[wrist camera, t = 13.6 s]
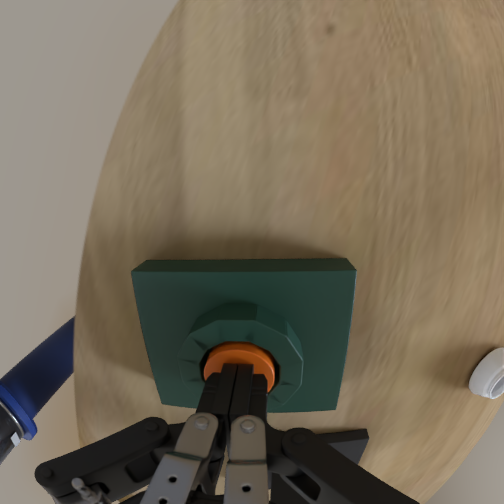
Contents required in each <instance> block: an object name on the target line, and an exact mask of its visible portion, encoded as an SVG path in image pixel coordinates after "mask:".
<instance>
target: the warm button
mask: <svg viewBox="0 0 504 504" xmlns="http://www.w3.org/2000/svg"><path fill="white" fill-rule="evenodd" d="M223 363H234V364H238V365H239V364H254V374H264V375H265V377H266V379H267V380H268V392H269V391H270V389H271V388H272V386H273V383H274V375H275V358H274V357H273V356H272V354H271V353H270V351H268V350H266V349H264V348H262V347H259V346H257V345H255V344H253V343H251V342H243V341H225V342H223V343H220V344H218V345H216V346H214V347H212V348H211V350H210V353H209V356H208V359H207V362H206V365H205V368H204V377H205V380H206V379H207V378H208V377H209V376H210V375H211V374H212V373H213V372H219V373H221V370H222V366H223Z"/></svg>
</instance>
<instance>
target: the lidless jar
mask: <svg viewBox="0 0 504 504" xmlns="http://www.w3.org/2000/svg"><path fill="white" fill-rule="evenodd" d="M469 389H470V390H471V392H472V393H473V394H477V395H480V396H483V397H489V398H491V399H494V398H497V397H498V396H500V395H501V394H502V393H503V392H504V348H502V347H501V348H497V349H495V350H493V351H492V352H490V353H489V354H487V356H486V357H485V358H484V359H483V360H482V361H481V362H480V363H479V364H478V366H477V367H476V369H475V370H474V371H473V374H472V376H471V378H470V381H469Z"/></svg>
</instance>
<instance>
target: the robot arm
mask: <svg viewBox="0 0 504 504" xmlns="http://www.w3.org/2000/svg"><path fill="white" fill-rule="evenodd" d="M267 405H268V380H267V379H266V377H265V375H264V374H254V364H239V365H238V364H234V363H223V366H222V370H221V373H219V372H213V373H212V374H211V375H210V376H209V377H208V378H207V379H206V382H205V385H204V388H203V392H202V394H201V397H200V401H199V404H198V407H197V410H196V413H195V414H193V415H191V416H190V417H189V418H188V419H187V421H186V422H184V423H179V424H169V425H168V424H167V422H166V421H165V420H163V419H162V418H158V417H149V418H146V419H144V420H142V421H140V422H138V423H136V424H134V425H131V426H129V427H127V428H125V429H123V430H121V431H119V432H117V433H115V434H112V435H110V436H108V437H106V438H104V439H101V440H99V441H97V442H95V443H92V444H90V445H88V446H85V447H83V448H80V449H78V450H76V451H73V452H70V453H68V454H66V455H63V456H61V457H58V458H55V459H52V460H49V461H47V462H44V463H41V464H40V465H39V466H38V467H37V468H36V470H35V478H36V480H37V482H38V483H39V484H40V485H41V486H42V487H43V488H44V489H45V490H46V491H47V492H48V494H50V495H51V496H52V497H53V500H54V502H55V504H111V503H112V502H114V501H116V500H118V499H121V498H123V497H125V496H127V495H129V494H131V493H133V492H135V491H137V490H139V489H141V488H143V487H145V486H146V485H148V484H149V486H148V488H147V490H145V491H142V492H140V493H138V494H136V495H134V496H132V497H130V498H129V499H127V500H125V501H123V502H121V503H119V504H277V503H275V502H272V501H269V494H268V473H267V471H269V472H273V473H277V474H280V476H281V478H282V479H283V480H284V481H285V482H286V483H288V484H289V485H290V486H291V487H292V488H293V489H294V490H295V491H296V492H297V493H299V494H300V495H301V496H302V497H303V498H304V499H305V500H307V501H308V502H309V503H310V504H419V503H418V502H417V501H415V500H413V499H412V498H410V497H408V496H406V495H405V494H403V493H401V492H399V491H398V490H396V489H394V488H393V487H391V486H389V485H388V484H386V483H385V482H383V481H381V480H380V479H378V478H377V477H375V476H374V475H372V474H371V473H369V472H368V471H366V470H365V469H363V468H362V467H360V466H359V465H357V464H356V463H354V462H353V461H351V460H350V459H348V458H347V457H346V456H344V455H343V454H341V453H340V452H339V451H337V450H336V449H335V448H333V447H332V446H330V445H329V444H328V443H326V442H325V441H324V440H322V439H321V438H320V437H318V436H317V435H316V434H315V433H313V432H312V431H310V430H309V429H306V428H292V429H290V430H288V431H286V432H284V431H280V430H276V429H274V428H272V427H271V426H270V425H269V424H268V423H267ZM25 434H26V432H25V429H24V427H23V425H22V424H21V422H20V421H19V419H18V418H17V417H16V415H15V414H14V413H13V411H12V410H11V409H10V408H9V407H8V405H7V404H6V403H5V402H4V401H3V400H2V399H1V398H0V465H1V463H2V462H3V461H4V460H5V458H6V457H7V455H8V454H9V453H10V452H11V450H12V449H13V448H14V447H16V446H17V445H18V444H19V442H20V439H21V438H23V436H24V435H25ZM226 445H230V450H229V461H228V462H227V465H226V477H225V491H224V495H215V489H216V484H217V481H218V478H219V474H220V471H221V468H222V464H223V461H224V457H225V456H224V452H225V447H226Z"/></svg>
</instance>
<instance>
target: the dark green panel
mask: <svg viewBox="0 0 504 504" xmlns="http://www.w3.org/2000/svg"><path fill="white" fill-rule="evenodd" d="M356 274H357V270H356V269H355V268H354V266H353V265H352V264H351V263H350V262H349V260H348V259H347V258H329V259H248V260H146V261H145V262H143V263H142V264H140V265H139V266H138V267H136V268H135V269H133V270H132V271H131V275H132V281H133V287H134V292H135V298H136V303H137V308H138V313H139V318H140V323H141V328H142V332H143V336H144V341H145V345H146V349H147V353H148V357H149V361H150V365H151V368H152V372H153V376H154V379H155V383H156V386H157V390H158V393H159V396H160V399H161V403H162V404H165V405H172V406H179V407H187V408H196V409H197V407H198V404H199V401H200V397H201V394H202V392H203V388H204V385H205V382H206V380H205V377H204V368H205V365H206V362H207V359H208V356H209V353H210V350H211V348H212V347H214V346H216V345H218V344H220V343H223V342H225V341H243V342H251V343H253V344H255V345H257V346H259V347H262V348H264V349H266V350H268V351H270V353H271V354H272V356H273V357H274V358H275V375H274V383H273V386H272V388H271V389H270V391H269V392H268V405H267V413H282V412H311V411H327V410H336V406H337V402H338V397H339V392H340V388H341V382H342V377H343V372H344V366H345V361H346V355H347V348H348V342H349V335H350V328H351V321H352V313H353V304H354V295H355V285H356Z"/></svg>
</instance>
